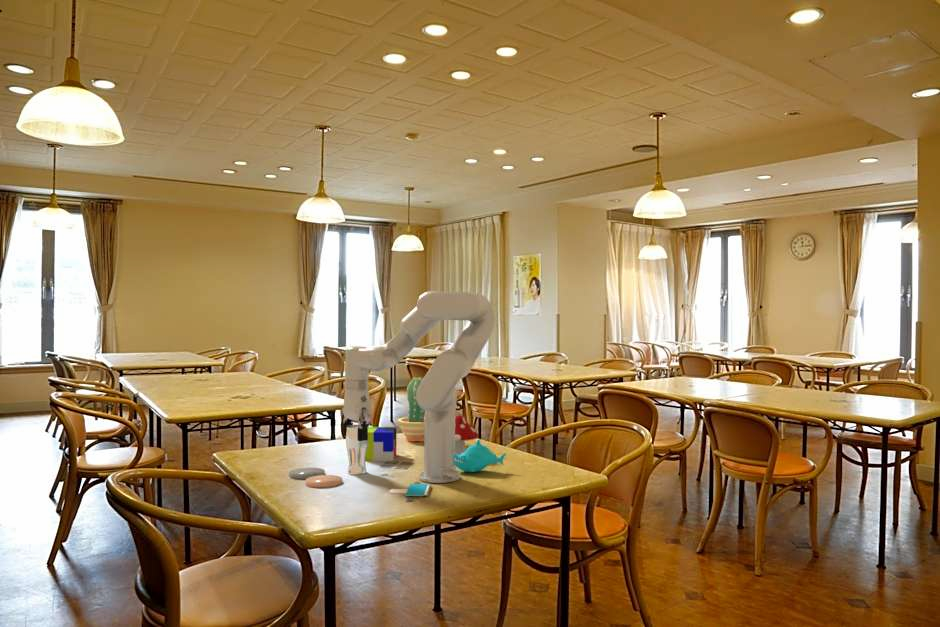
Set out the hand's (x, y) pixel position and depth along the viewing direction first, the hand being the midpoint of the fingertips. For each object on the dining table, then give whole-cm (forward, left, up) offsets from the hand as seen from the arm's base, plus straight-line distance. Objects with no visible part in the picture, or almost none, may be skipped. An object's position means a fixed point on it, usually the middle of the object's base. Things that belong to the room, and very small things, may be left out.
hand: (355, 437), depth 214 cm
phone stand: (-29, -2, -12) cm, 32 cm away
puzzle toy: (+13, -17, -12) cm, 25 cm away
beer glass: (-1, 0, -11) cm, 11 cm away
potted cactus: (+32, -45, -11) cm, 57 cm away
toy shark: (-24, -32, -12) cm, 42 cm away
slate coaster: (+6, +14, -11) cm, 19 cm away
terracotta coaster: (-6, +14, -11) cm, 18 cm away
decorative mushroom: (-3, -40, -11) cm, 42 cm away
